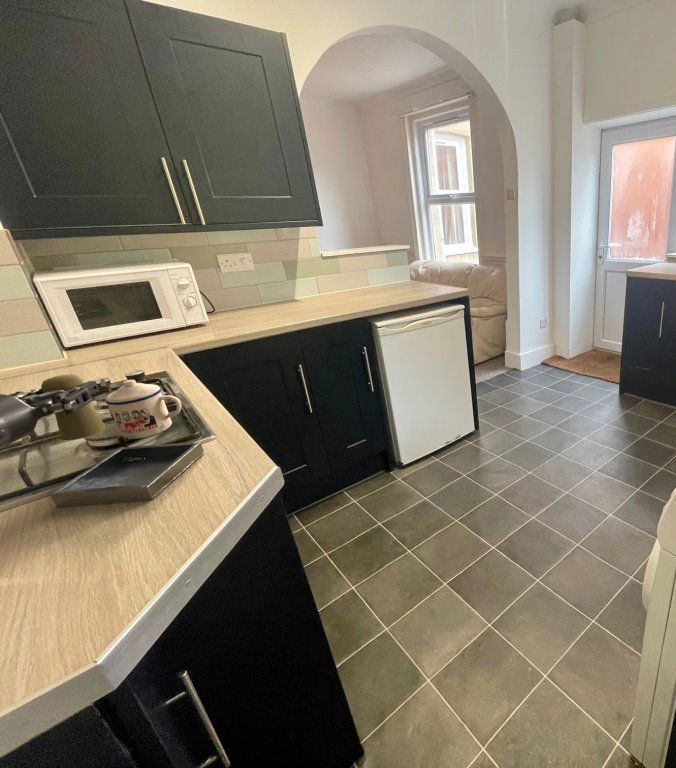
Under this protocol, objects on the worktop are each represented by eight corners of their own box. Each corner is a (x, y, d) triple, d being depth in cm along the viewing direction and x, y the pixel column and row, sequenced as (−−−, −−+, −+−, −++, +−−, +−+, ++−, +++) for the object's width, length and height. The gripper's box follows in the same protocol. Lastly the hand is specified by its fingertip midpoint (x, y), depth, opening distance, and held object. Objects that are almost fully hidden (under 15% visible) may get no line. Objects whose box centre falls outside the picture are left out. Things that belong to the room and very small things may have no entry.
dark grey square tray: (56, 507, 67) (49, 494, 66) (125, 458, 81) (120, 447, 80) (152, 500, 68) (147, 486, 67) (204, 453, 82) (200, 441, 81)
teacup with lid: (112, 443, 87) (89, 392, 82) (132, 425, 94) (112, 376, 90) (180, 433, 90) (162, 383, 86) (194, 415, 98) (178, 369, 94)
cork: (73, 442, 74) (46, 384, 70) (53, 437, 76) (26, 380, 72) (113, 427, 79) (90, 372, 75) (94, 423, 81) (70, 369, 77)
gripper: (19, 401, 60) (112, 364, 76) (-90, 408, 59) (27, 369, 75) (42, 447, 63) (127, 402, 79) (-62, 454, 62) (45, 407, 78)
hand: (78, 386), depth 77 cm, fingers closed on cork, 5 cm apart
